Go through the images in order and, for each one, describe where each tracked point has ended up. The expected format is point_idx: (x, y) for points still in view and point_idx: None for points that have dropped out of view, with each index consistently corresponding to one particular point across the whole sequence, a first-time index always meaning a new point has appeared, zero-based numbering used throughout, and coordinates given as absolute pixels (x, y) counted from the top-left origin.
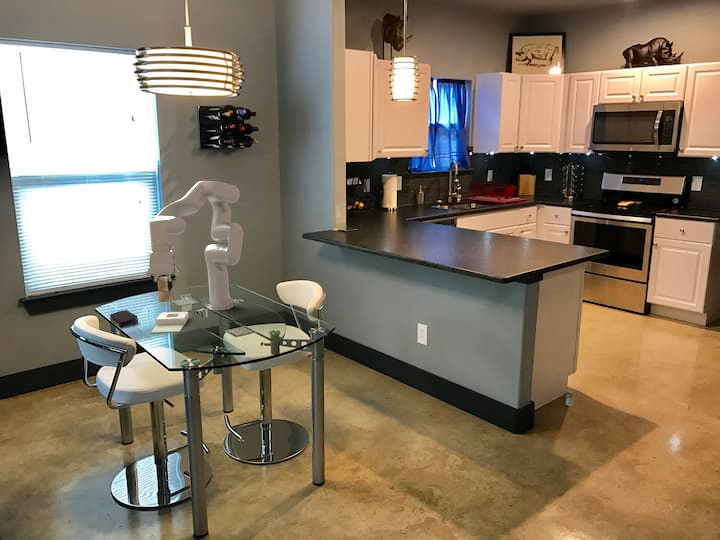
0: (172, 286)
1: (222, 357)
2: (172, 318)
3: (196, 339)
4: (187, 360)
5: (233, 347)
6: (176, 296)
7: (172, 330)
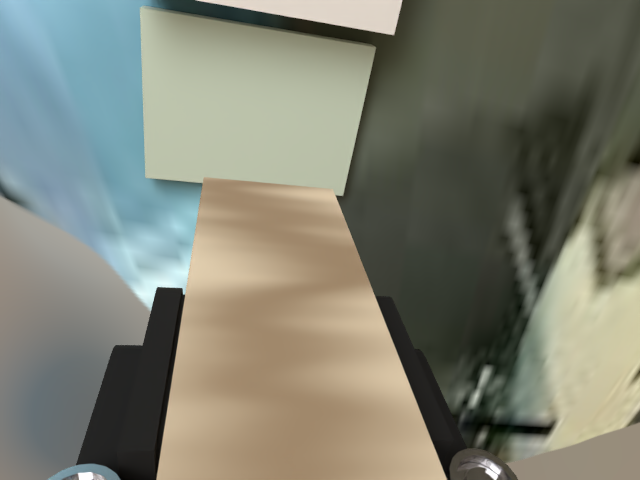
0: (424, 357)
1: (475, 448)
2: (291, 9)
3: (419, 294)
4: None
5: (538, 386)
6: None
7: (295, 175)
